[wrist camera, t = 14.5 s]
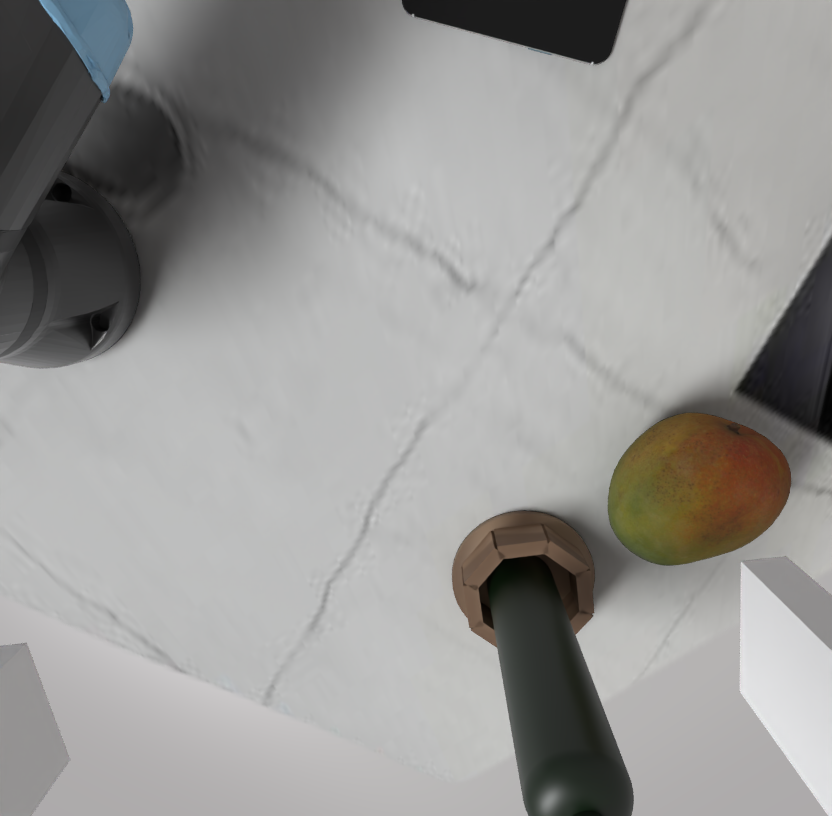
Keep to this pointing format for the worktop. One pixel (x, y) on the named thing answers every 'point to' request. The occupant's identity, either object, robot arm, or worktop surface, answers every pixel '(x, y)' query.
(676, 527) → the fruit
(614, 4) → the smartphone
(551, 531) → the bowl
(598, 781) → the wine bottle
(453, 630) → the worktop surface
